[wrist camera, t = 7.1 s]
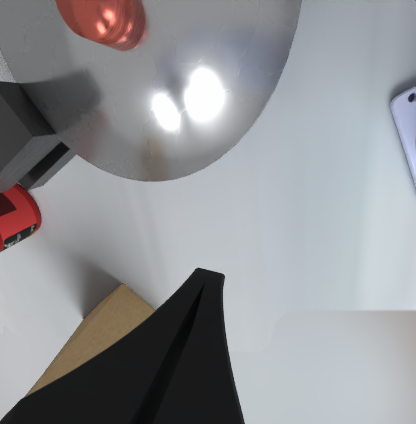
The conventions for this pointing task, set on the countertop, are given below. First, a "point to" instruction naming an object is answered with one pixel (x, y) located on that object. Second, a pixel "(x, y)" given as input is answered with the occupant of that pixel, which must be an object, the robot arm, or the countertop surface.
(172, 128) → the cooker lid
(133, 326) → the sandwich container
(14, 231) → the canned food
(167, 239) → the countertop surface
